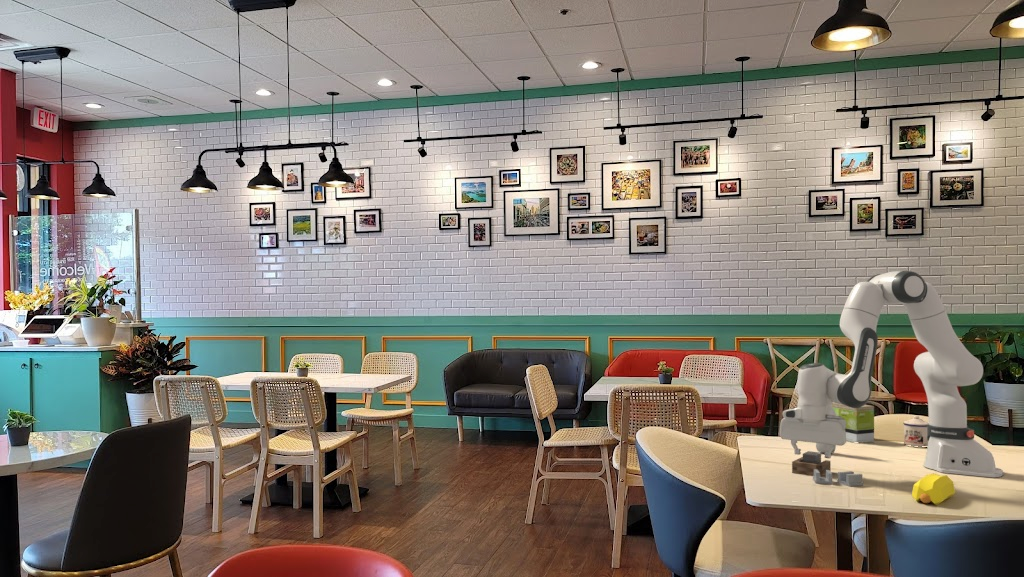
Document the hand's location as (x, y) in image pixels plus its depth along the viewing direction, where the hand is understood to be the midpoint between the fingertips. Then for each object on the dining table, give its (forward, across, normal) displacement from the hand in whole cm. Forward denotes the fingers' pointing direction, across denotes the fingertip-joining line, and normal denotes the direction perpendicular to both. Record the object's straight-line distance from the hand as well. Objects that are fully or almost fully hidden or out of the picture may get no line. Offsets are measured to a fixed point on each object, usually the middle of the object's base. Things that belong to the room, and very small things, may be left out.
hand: (812, 456), depth 237 cm
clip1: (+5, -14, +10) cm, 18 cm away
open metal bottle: (+5, +6, -36) cm, 37 cm away
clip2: (+5, -7, +13) cm, 15 cm away
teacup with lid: (+6, -18, -76) cm, 79 cm away
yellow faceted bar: (+6, -37, +14) cm, 39 cm away
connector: (+4, 0, -2) cm, 4 cm away
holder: (+5, 0, +1) cm, 5 cm away
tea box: (+6, +7, -74) cm, 75 cm away
